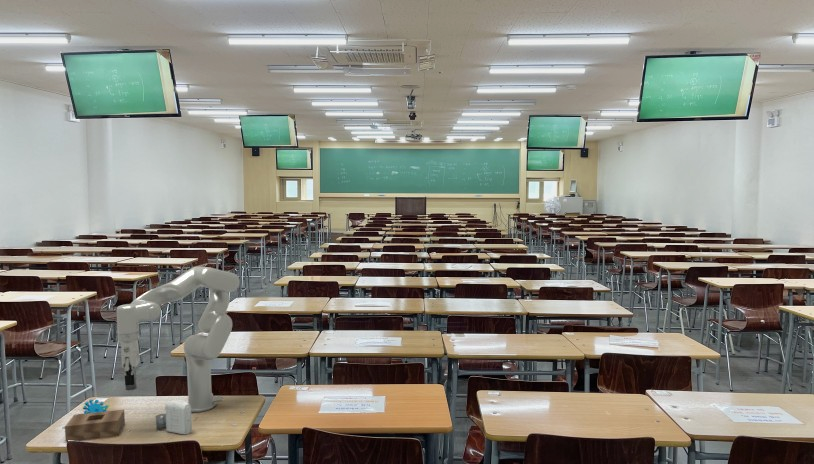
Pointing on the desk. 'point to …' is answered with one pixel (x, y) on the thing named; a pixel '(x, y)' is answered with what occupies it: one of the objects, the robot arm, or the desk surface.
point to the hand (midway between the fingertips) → (131, 382)
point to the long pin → (132, 387)
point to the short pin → (161, 422)
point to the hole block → (95, 425)
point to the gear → (94, 407)
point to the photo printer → (178, 417)
